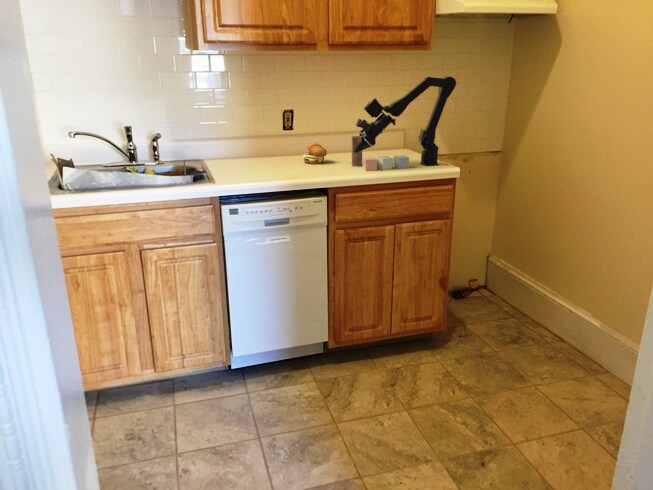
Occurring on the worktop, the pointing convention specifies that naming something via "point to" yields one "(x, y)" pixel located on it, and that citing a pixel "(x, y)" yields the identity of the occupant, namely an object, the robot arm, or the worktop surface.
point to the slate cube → (401, 162)
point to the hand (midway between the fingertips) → (354, 150)
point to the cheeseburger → (315, 154)
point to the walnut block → (357, 156)
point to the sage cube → (384, 163)
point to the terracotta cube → (370, 164)
